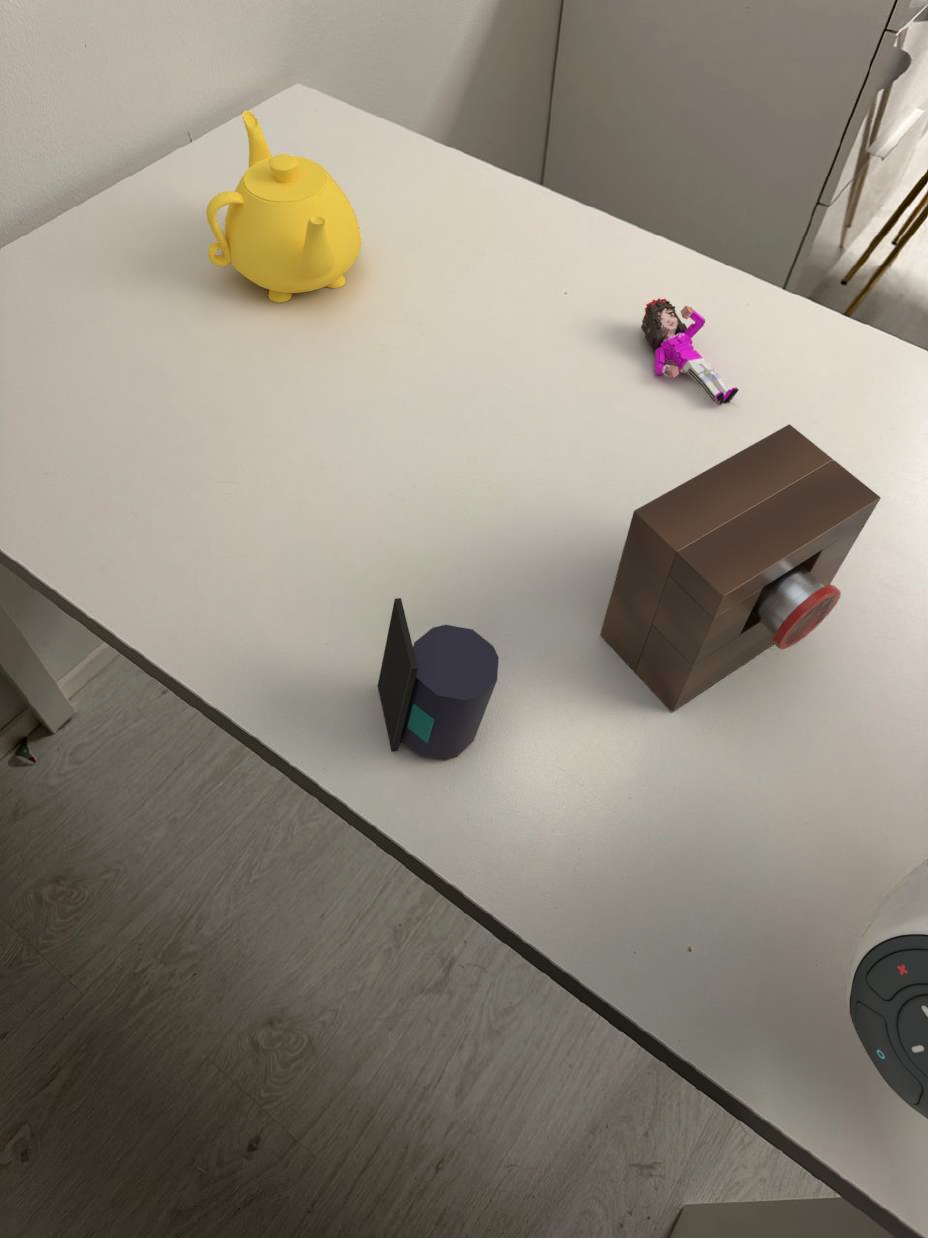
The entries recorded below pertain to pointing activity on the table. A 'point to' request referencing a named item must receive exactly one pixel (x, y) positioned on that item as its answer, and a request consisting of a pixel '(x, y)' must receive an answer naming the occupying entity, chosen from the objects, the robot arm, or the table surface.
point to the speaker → (435, 686)
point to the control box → (727, 560)
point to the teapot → (285, 223)
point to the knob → (794, 605)
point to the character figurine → (681, 348)
